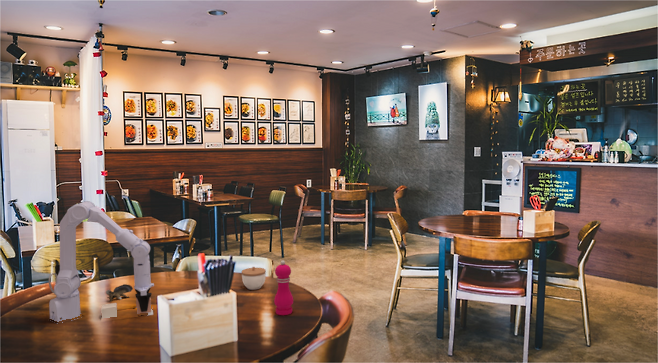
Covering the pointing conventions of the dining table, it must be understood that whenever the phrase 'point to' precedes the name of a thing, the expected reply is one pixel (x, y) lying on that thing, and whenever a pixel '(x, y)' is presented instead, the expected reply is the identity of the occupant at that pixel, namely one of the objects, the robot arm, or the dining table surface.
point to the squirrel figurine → (119, 292)
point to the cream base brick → (109, 310)
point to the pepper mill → (283, 290)
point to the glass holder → (57, 269)
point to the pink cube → (140, 309)
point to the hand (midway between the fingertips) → (143, 308)
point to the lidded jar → (253, 277)
